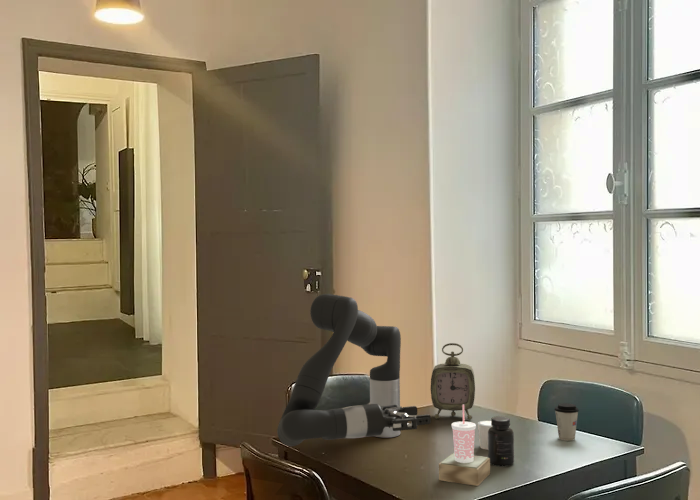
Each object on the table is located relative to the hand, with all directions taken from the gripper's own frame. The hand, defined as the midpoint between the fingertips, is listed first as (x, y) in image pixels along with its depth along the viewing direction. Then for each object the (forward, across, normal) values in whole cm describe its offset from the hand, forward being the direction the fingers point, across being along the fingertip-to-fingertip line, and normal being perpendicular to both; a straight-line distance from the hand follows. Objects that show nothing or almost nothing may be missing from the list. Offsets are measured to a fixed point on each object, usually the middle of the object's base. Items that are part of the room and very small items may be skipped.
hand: (423, 414), depth 179 cm
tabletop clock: (+34, +55, +18) cm, 67 cm away
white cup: (+29, +21, +18) cm, 40 cm away
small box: (+11, 0, +17) cm, 20 cm away
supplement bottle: (+25, +6, +17) cm, 31 cm away
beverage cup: (+11, 0, +13) cm, 17 cm away
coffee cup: (+55, +21, +18) cm, 61 cm away
